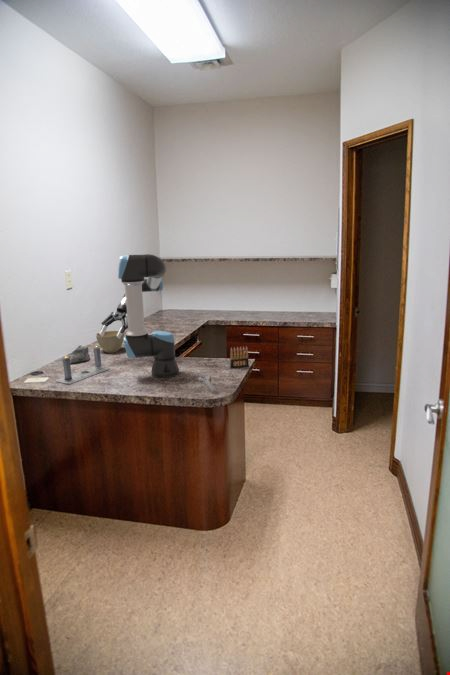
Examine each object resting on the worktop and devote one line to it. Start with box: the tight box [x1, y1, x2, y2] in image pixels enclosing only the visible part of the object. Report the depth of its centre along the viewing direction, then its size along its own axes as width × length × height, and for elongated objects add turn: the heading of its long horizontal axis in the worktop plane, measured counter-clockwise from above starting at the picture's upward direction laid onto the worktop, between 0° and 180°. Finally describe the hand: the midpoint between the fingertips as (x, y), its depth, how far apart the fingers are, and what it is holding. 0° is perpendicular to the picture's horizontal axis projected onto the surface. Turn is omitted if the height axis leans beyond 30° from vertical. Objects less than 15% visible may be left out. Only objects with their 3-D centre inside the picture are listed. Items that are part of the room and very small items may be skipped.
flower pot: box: [95, 330, 125, 354], centre depth 296 cm, size 18×18×12 cm
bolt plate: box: [55, 355, 111, 385], centre depth 246 cm, size 10×30×13 cm, turn 151°
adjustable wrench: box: [197, 375, 218, 394], centre depth 224 cm, size 25×6×2 cm, turn 12°
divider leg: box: [93, 345, 103, 368], centre depth 255 cm, size 3×3×12 cm
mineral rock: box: [68, 345, 91, 363], centre depth 274 cm, size 13×11×10 cm
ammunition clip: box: [229, 345, 250, 370], centre depth 252 cm, size 11×2×12 cm, turn 105°
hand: (109, 336), depth 262 cm, fingers open, 13 cm apart
